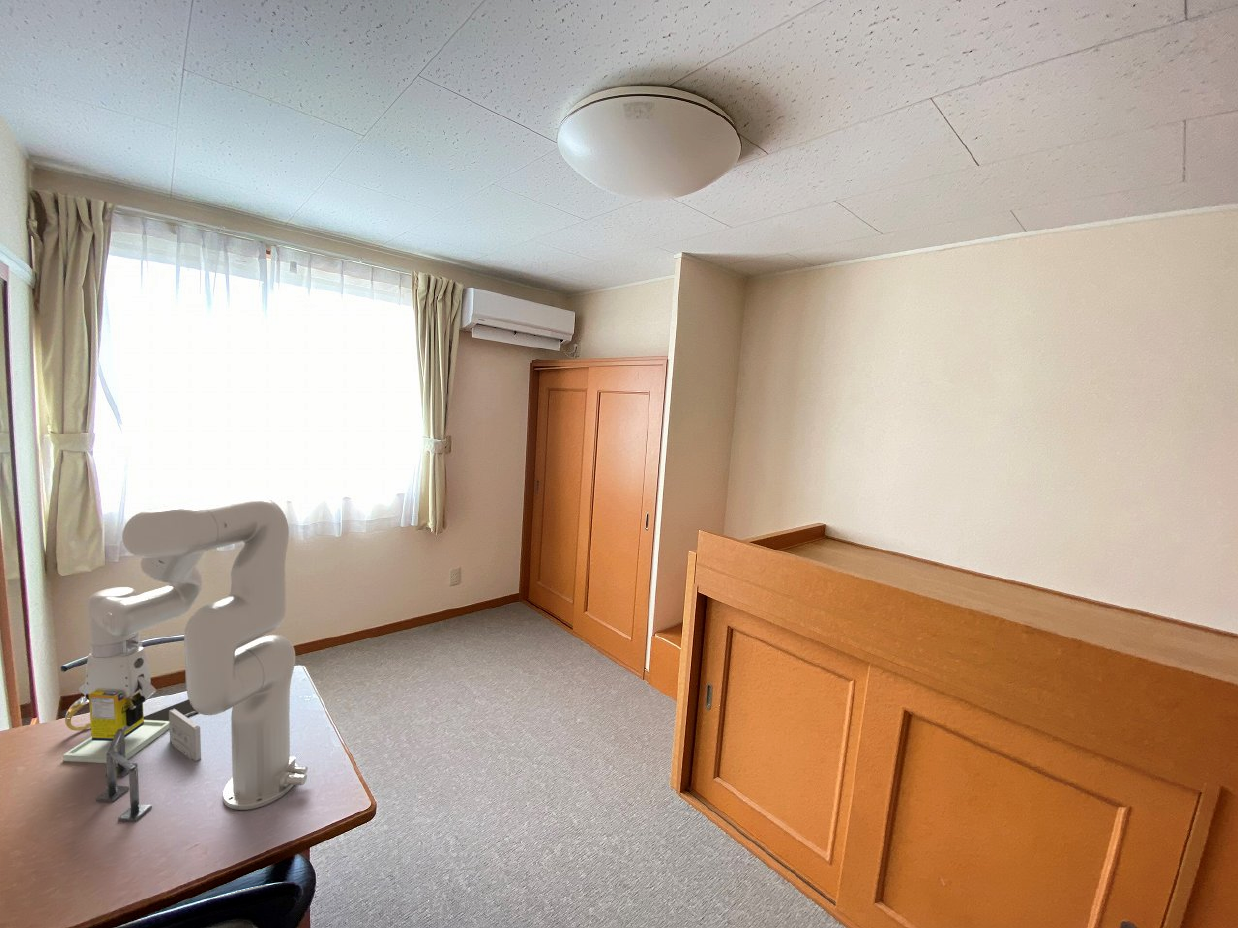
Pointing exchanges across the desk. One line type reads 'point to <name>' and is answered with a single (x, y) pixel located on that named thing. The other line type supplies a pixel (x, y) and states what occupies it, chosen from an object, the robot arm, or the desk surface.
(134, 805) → the metal handrail
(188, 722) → the cassette
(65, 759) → the tray
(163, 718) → the smartphone
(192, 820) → the desk surface
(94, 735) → the supplement box
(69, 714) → the ring
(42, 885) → the desk surface
